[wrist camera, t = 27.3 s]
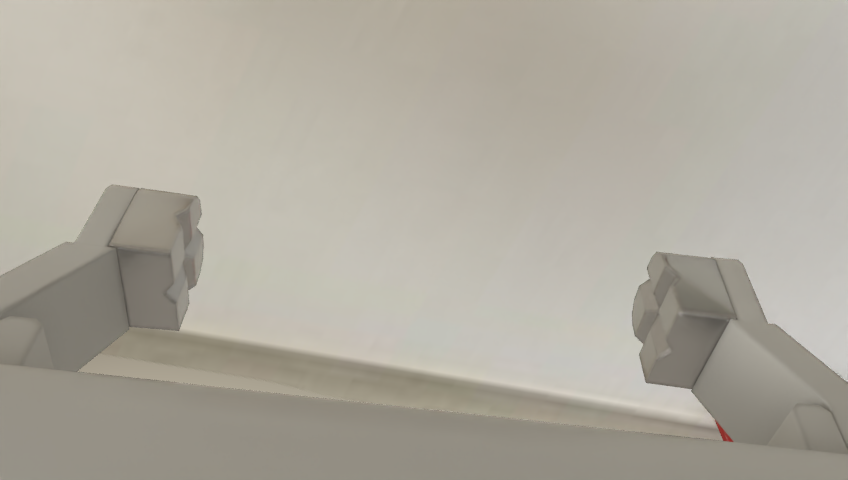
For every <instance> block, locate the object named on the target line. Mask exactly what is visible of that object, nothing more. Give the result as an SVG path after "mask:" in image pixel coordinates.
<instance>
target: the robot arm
mask: <svg viewBox="0 0 848 480" xmlns="http://www.w3.org/2000/svg"><path fill="white" fill-rule="evenodd" d="M201 215H202V213H201V204H200V199H199V198H198V197H197V196H193V195H186V194H179V193H172V192H165V191H158V190H151V189H144V188H141V189H139V188H134V187H127V186H120V185H111V186H109V187H107V188H106V189H105V191H104V192H103V194H102V196H101V198H100V199H99V201H98V203H97V204H96V206H95V208H94V210H93V211H92V213H91V215H90V216H89V218H88V220H87V222H86V223H85V225H84V227H83V228H82V230H81V232H80V234H79V235H78V237H77V239H76V241H75V242H74V243H72V242H65V243H63V244H61V245H59V246H57V247H55V248H53V249H51V250H49V251H47V252H45V253H44V254H42V255H40V256H38V257H36V258H34V259H32V260H30V261H28V262H26V263H24V264H22V265H20V266H19V267H17V268H15V269H13V270H11V271H9V272H7V273H5V274H3V275H1V276H0V480H848V383H847V382H846V381H845V380H844V379H842V378H841V377H840V376H839V375H837V374H836V373H835V372H834V371H832V370H831V369H830V368H829V367H828V366H826V365H825V364H824V363H823V362H821V361H820V360H819V359H818V358H817V357H815V356H814V355H813V354H812V353H810V352H809V351H808V350H807V349H805V348H804V347H803V346H802V345H801V344H799V343H798V342H797V341H796V340H794V339H793V338H792V337H791V336H789V335H788V334H787V333H786V332H785V331H783V330H782V329H781V328H780V327H778V326H777V325H776V324H768V322H767V320H766V317H765V315H764V313H763V310H762V308H761V306H760V303H759V301H758V299H757V296H756V294H755V291H754V289H753V287H752V284H751V282H750V280H749V277H748V275H747V273H746V270H745V268H744V265H743V264H742V263H741V262H740V261H739V260H734V259H724V258H714V257H711V258H707V257H698V256H689V255H681V254H672V253H663V252H656V253H655V254H654V255H653V256H652V257H651V260H650V262H649V264H648V267H647V270H648V274H649V278H650V279H649V280H647V281H646V282H644V283H643V284H641V285H640V286H639V288H638V291H637V293H636V296H635V299H634V304H633V311H632V324H633V329H634V334H635V336H636V337H637V338H638V339H639V340H640V341H641V342H642V343H643V347H642V349H641V351H640V353H639V356H640V360H641V364H642V369H643V373H644V377H645V381H646V383H651V384H659V385H666V386H673V387H681V388H688V389H692V390H691V391H692V393H693V394H694V395H695V396H696V397H697V399H698V400H699V401H700V402H701V403H702V405H703V406H704V407H705V408H706V409H707V411H708V412H709V413H710V414H711V415H712V416H713V418H714V419H715V420H716V421H717V422H718V424H719V425H720V426H721V427H722V428H723V430H724V431H725V432H726V433H727V434H728V436H729V437H730V438H731V439H732V440H733V442H729V441H719V440H710V439H700V438H690V437H681V436H671V435H662V434H652V433H643V432H634V431H625V430H615V429H606V428H597V427H588V426H579V425H569V424H560V423H551V422H542V421H533V420H523V419H514V418H505V417H496V416H486V415H477V414H467V413H458V412H449V411H439V410H430V409H420V408H411V407H401V406H392V405H383V404H373V403H364V402H354V401H345V400H335V399H326V398H317V397H316V398H315V397H307V396H298V395H289V394H280V393H270V392H261V391H251V390H242V389H233V388H224V387H214V386H205V385H196V384H187V383H177V382H168V381H159V380H150V379H140V378H131V377H122V376H112V375H102V374H94V373H84V372H77V371H78V370H79V369H81V368H82V367H83V366H84V365H86V364H87V363H88V362H89V361H91V360H92V359H93V358H94V357H96V356H97V355H98V354H99V353H101V352H102V351H103V350H104V349H105V348H107V347H108V346H109V345H110V344H112V343H113V342H114V341H115V340H117V339H118V338H119V337H120V336H122V335H123V334H124V333H125V332H127V331H128V330H129V327H139V328H151V329H163V330H175V331H179V329H180V327H181V324H182V321H183V319H184V316H185V314H186V311H187V308H188V306H189V294H188V290H190V289H191V288H193V287H194V286H196V284H197V281H198V278H199V275H200V272H201V266H202V261H203V249H204V242H203V234H202V233H201V232H200V230H199V229H198V228H197V225H198V223H199V220H200V218H201Z"/></svg>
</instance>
